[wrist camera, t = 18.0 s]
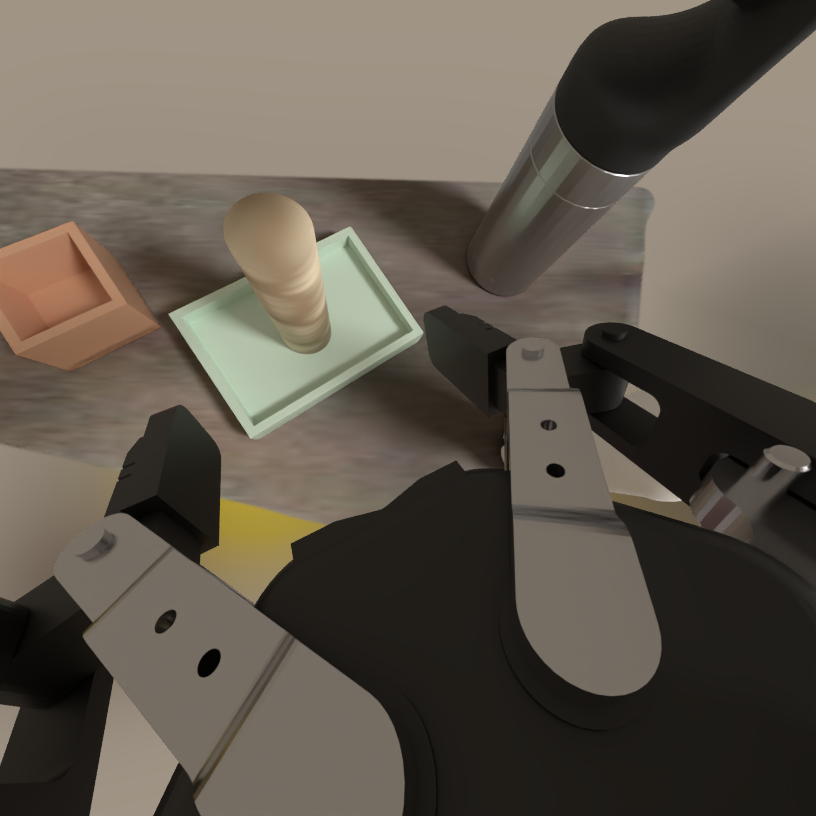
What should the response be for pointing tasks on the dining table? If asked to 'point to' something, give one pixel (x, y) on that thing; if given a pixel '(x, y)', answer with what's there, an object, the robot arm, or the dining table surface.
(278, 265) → the birch pin
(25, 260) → the terracotta holder
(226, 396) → the pale green tray
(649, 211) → the dining table surface
